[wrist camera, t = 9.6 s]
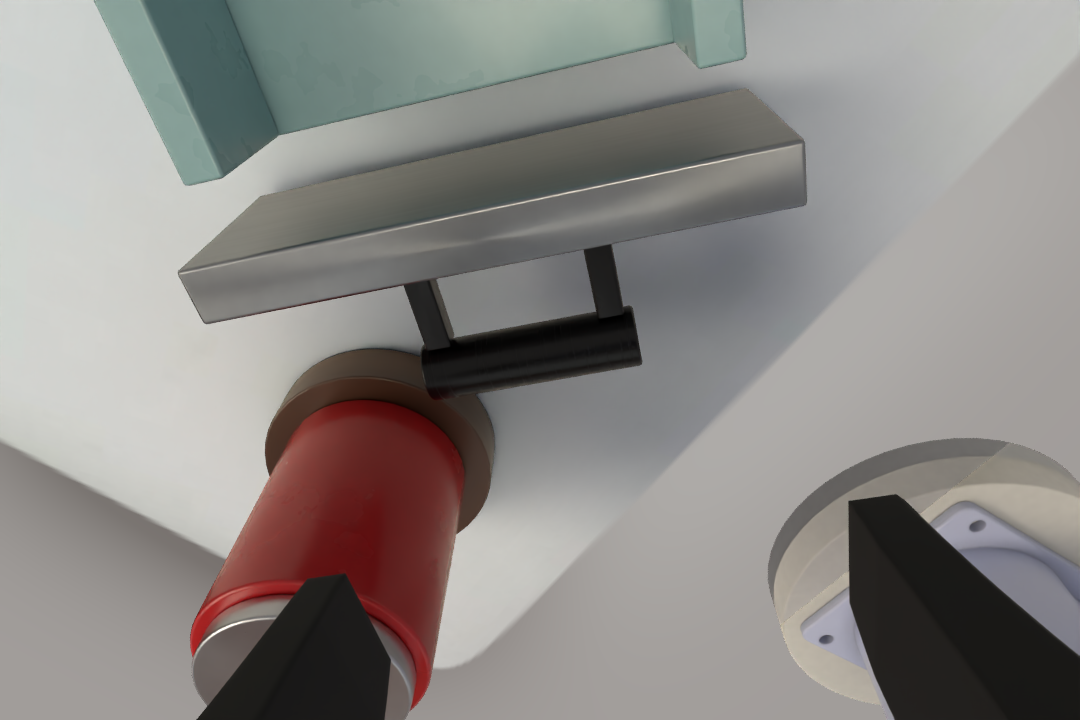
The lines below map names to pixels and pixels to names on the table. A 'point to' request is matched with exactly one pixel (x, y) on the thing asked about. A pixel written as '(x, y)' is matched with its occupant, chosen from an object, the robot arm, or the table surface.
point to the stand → (400, 385)
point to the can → (345, 541)
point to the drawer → (450, 158)
